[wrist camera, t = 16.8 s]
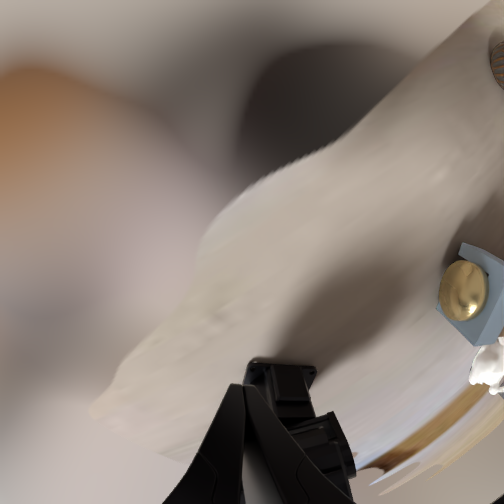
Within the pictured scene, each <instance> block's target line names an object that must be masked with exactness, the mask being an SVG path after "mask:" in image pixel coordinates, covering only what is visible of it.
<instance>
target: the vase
mask: <svg viewBox="0 0 504 504" xmlns="http://www.w3.org/2000/svg"><path fill="white" fill-rule="evenodd" d="M491 67H492V71H493V74H494V76H495V78H496V80H497V82H498V83H499V85H500V86H501V87H502V88H503V89H504V42H501V43H500V44H498V45H497V46H496V47H495V48H494V50H493V52H492V56H491Z"/></svg>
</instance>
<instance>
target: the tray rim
mask: <svg viewBox="0 0 504 504" xmlns="http://www.w3.org/2000/svg"><path fill="white" fill-rule="evenodd" d="M503 386H504V382H503V383H502V385H501V386H500V387H503ZM498 393H499V394H500V395H501V397H502V398H503V399H504V392H498Z"/></svg>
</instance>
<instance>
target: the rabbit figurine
mask: <svg viewBox="0 0 504 504" xmlns="http://www.w3.org/2000/svg"><path fill="white" fill-rule="evenodd" d="M503 375H504V337H498V338H497V340H496V342H495V343H494V344H490V345H482V346H481V348H480V350H479V352H478V353H477V355H476V357H475V358H474V360H473V363H472V368H471V371H470V374H469V381H470V383H471V384H472V385H474V384H476V383H477V382H478V383H480V384H483V383H486V384H487V385H490V388H489V392H490V393H491V394H492V395H495V394H497V393H498V392H504V386H503V387H500V386H499V382H500V380H501V379H502V377H503Z"/></svg>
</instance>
